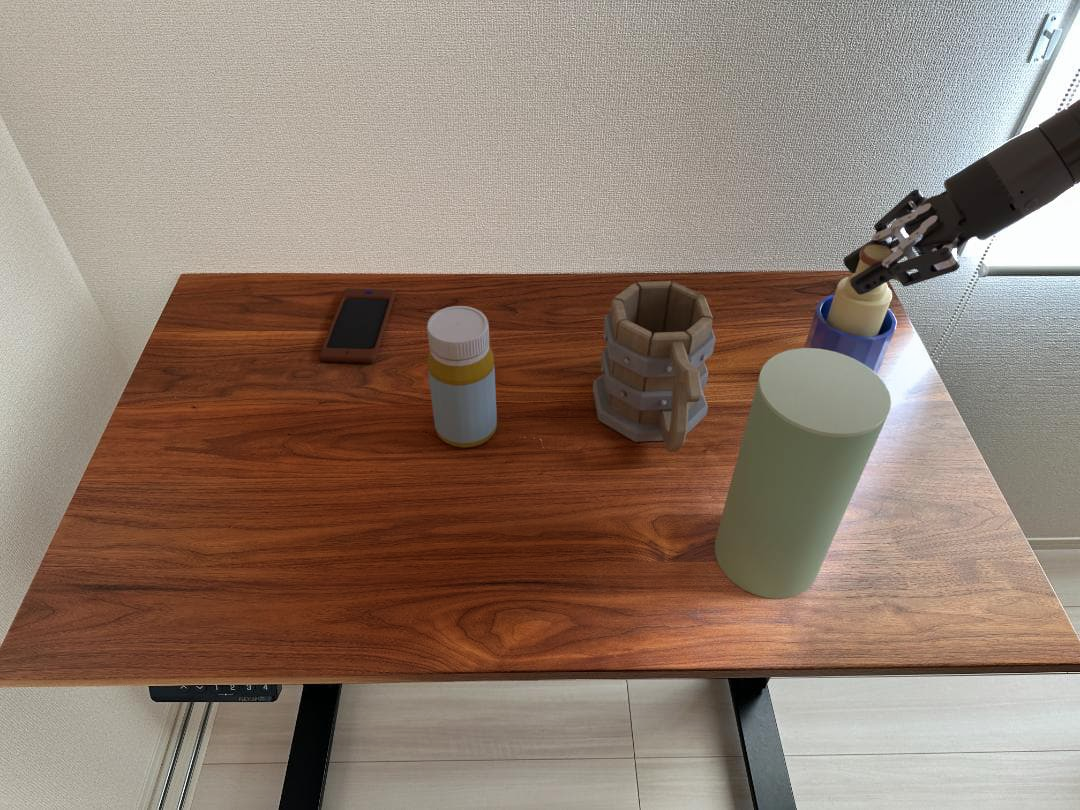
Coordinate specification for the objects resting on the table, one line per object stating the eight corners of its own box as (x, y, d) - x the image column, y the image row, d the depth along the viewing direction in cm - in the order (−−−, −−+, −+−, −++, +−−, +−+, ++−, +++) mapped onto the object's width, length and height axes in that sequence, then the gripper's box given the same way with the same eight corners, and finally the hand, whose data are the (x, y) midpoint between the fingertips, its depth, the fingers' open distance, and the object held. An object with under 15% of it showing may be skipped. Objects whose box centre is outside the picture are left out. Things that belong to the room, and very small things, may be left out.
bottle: (459, 400, 91) (449, 295, 81) (508, 421, 89) (505, 316, 78) (423, 436, 87) (408, 330, 77) (474, 459, 84) (466, 354, 74)
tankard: (588, 371, 95) (595, 268, 85) (689, 366, 96) (708, 264, 86) (611, 495, 81) (623, 389, 71) (729, 489, 82) (758, 383, 71)
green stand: (827, 535, 77) (899, 369, 62) (806, 615, 71) (880, 450, 56) (730, 501, 80) (776, 335, 65) (701, 574, 74) (744, 408, 59)
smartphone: (395, 288, 106) (373, 358, 95) (396, 294, 107) (374, 364, 96) (344, 287, 106) (316, 356, 95) (345, 292, 107) (318, 362, 96)
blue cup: (880, 356, 98) (901, 305, 92) (869, 400, 92) (890, 348, 86) (808, 337, 101) (824, 286, 95) (793, 377, 95) (809, 326, 89)
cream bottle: (867, 356, 97) (910, 245, 86) (859, 385, 93) (903, 273, 82) (819, 343, 99) (854, 233, 88) (809, 370, 95) (845, 259, 84)
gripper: (969, 128, 81) (822, 223, 91) (1015, 192, 71) (844, 292, 80) (1001, 177, 85) (855, 264, 94) (1048, 246, 75) (880, 336, 84)
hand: (851, 277), depth 87 cm, fingers closed on cream bottle, 3 cm apart
